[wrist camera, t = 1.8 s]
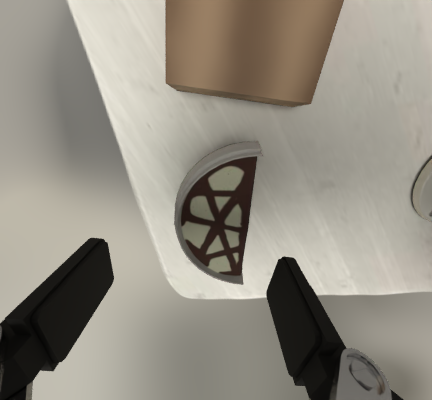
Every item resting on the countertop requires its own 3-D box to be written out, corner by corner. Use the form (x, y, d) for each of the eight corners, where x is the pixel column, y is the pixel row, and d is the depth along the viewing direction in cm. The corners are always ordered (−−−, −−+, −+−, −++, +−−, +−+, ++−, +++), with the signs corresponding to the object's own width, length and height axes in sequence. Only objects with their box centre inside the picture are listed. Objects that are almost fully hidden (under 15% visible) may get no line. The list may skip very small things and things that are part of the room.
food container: (188, 130, 19) (159, 140, 10) (244, 132, 19) (264, 145, 10) (191, 223, 24) (174, 285, 15) (234, 225, 24) (242, 288, 15)
